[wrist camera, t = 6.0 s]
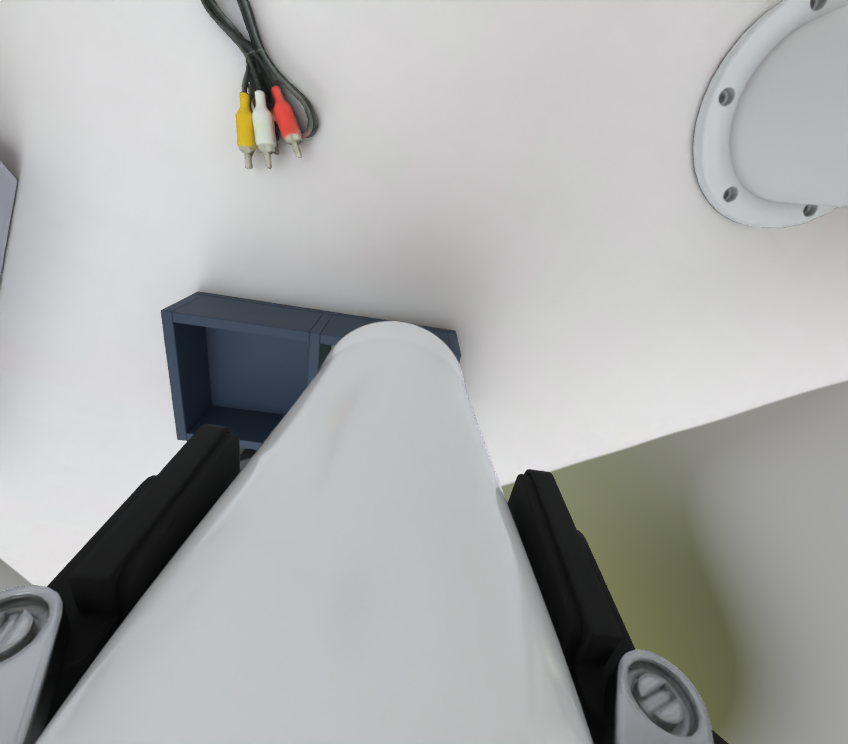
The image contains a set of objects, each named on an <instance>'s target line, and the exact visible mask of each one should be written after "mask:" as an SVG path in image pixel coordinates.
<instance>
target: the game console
mask: <svg viewBox="0 0 848 744" xmlns="http://www.w3.org/2000/svg"><path fill="white" fill-rule="evenodd" d="M16 185H17V179H16V178H15V177H14V176H13V175H12V173H11V172H10V171H9V170H8V169H7V168H6V167H5V166H4V165H3V164H2V162H1V161H0V276H1V270H2V265H3V259H4V253H5V248H6V242H7V236H8V231H9V225H10V219H11V214H12V208H13V202H14V197H15V191H16Z"/></svg>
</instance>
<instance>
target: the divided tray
mask: <svg viewBox="0 0 848 744" xmlns="http://www.w3.org/2000/svg"><path fill="white" fill-rule="evenodd" d="M161 316H162V324H163V332H164V340H165V347H166V355H167V363H168V370H169V378H170V386H171V393H172V401H173V409H174V417H175V424H176V432H177V439H178V440H185V441H188V440H189V439H190V438H191V437H192V436H193V435H194V434H195V432H196V431H197V430H198V429H199V428H200V427H201V426H202V425H203V424H211V425H219V426H226V427H230V428H231V429H232V433H233V434H237V435H238V436H239V445H240V448H247V449H255V450H258V449H259V447H260V446H261V445H262V444H263V442H264V441H265V440H266V438H267V437H268V436H269V435H270V433H271V432H272V431H273V430H274V428H275V427H276V426H277V424H278V423H279V422H280V421H281V419H282V418H283V417H284V416H285V414H286V413H287V412H288V410H289V409H290V408H291V407H292V405H293V404H294V403H295V401H296V400H297V399H298V398H299V396H300V395H301V394H302V392H303V391H304V390H305V388H306V387H307V386H308V385H309V383H310V382H311V381H312V379H313V378H314V377H315V375H316V374H317V373H318V371H319V369H320V367H321V366H322V364H323V362H324V360H325V358H326V357H327V355H328V354H329V352H330V351H331V349H332V348H333V347H334V346H335V345H336V344H337V342H338V341H339V340H341V339H342V338H343V337H344V336H346V335H347V334H348V333H350V332H352V331H353V330H355V329H357V328H359V327H362V326H364V325H368V324H371V323H376V322H382V321H387V320H381V319H374V318H367V317H361V316H354V315H348V314H341V313H334V312H328V311H321V310H315V309H308V308H302V307H295V306H288V305H282V304H275V303H269V302H262V301H256V300H249V299H242V298H236V297H229V296H223V295H216V294H209V293H203V292H196V293H194V294H192V295H190V296H188V297H186V298H184V299H182V300H181V301H179V302H177V303H175V304H173V305H171V306H169V307H167V308H165V309H163V310H161ZM416 326H419V327H421V328H424V329H426V330H428V331H430V332H431V333H433V334H434V335H436V336H437V337H438V338H440V339H441V340H442V341H443V342H444V343H445V344H446V345H447V346H448V347H449V348H450V350H451V351H452V352H453V354H454V355H455V357H456V359H457V361H458V362H460V357H461V353H460V348H459V344H458V339H457V335H456V331H453V330H446V329H440V328H433V327H427V326H420V325H416Z"/></svg>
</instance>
